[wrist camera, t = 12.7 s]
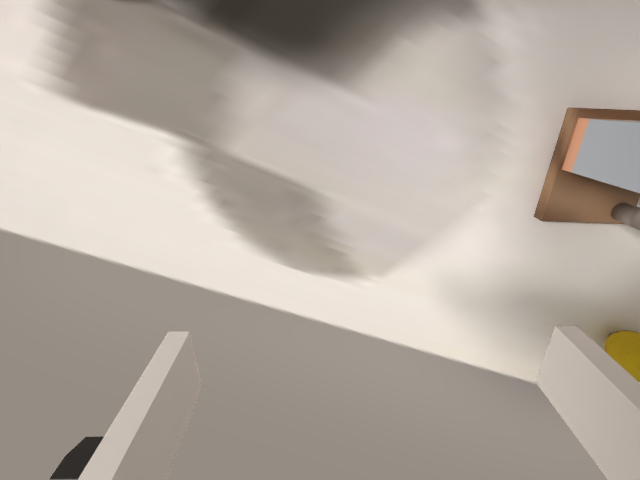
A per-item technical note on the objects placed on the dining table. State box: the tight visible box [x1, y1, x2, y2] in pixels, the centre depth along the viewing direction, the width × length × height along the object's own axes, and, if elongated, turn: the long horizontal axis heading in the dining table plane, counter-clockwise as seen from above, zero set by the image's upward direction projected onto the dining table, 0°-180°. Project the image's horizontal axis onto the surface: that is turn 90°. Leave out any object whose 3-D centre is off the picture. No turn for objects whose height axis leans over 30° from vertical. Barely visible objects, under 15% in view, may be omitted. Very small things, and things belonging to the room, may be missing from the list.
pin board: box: [534, 108, 640, 230], centre depth 34 cm, size 12×10×6 cm
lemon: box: [604, 331, 640, 382], centre depth 43 cm, size 6×6×8 cm
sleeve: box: [562, 118, 640, 193], centre depth 30 cm, size 5×5×10 cm
